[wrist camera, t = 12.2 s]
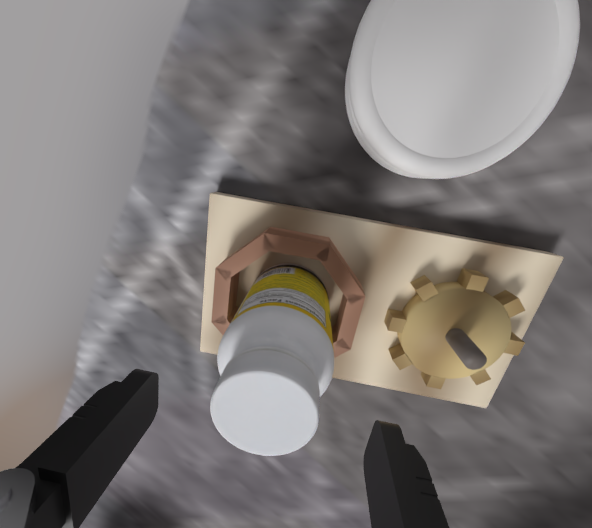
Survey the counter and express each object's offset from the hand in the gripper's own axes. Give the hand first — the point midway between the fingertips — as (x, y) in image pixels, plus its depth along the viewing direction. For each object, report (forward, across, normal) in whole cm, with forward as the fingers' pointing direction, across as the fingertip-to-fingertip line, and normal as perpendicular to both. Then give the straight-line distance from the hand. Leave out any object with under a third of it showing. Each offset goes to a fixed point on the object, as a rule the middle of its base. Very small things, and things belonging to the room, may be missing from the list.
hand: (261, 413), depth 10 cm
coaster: (+11, -6, -14) cm, 19 cm away
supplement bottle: (+10, 0, 0) cm, 10 cm away
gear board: (+11, -5, 0) cm, 12 cm away
